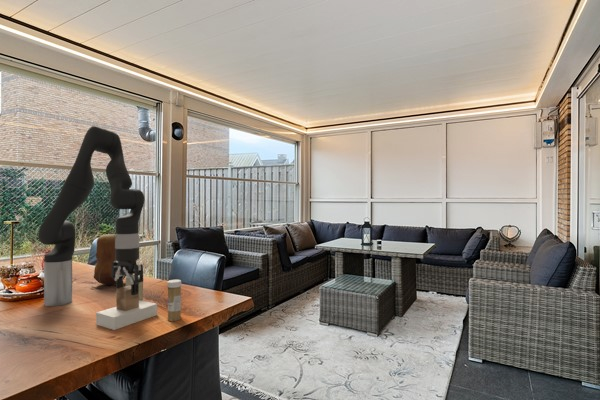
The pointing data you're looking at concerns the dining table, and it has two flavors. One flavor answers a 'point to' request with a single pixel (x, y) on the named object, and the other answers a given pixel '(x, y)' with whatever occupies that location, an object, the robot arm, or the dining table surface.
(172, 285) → the sprinkles bottle
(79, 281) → the dining table surface
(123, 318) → the white block
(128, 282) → the skincare box
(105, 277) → the butternut squash
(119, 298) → the walnut block
